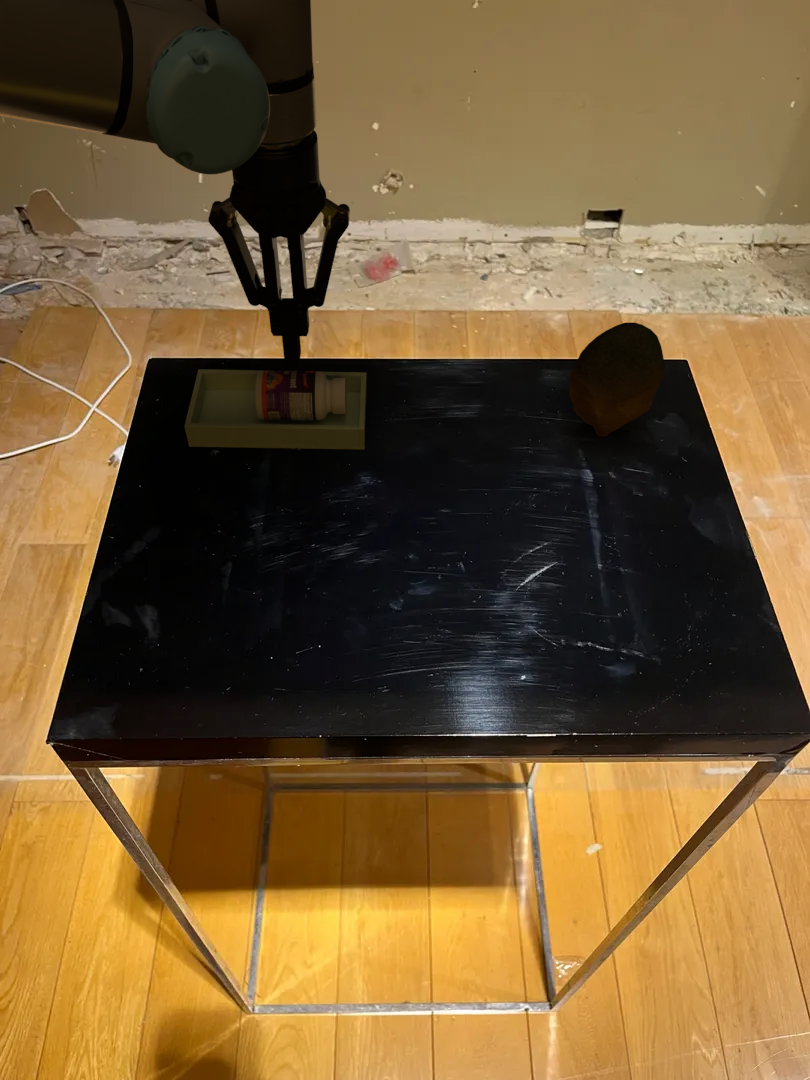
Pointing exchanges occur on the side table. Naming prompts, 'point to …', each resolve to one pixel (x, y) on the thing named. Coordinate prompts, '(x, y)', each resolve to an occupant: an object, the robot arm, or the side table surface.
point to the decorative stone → (617, 377)
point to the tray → (232, 420)
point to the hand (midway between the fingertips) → (293, 358)
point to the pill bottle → (298, 395)
